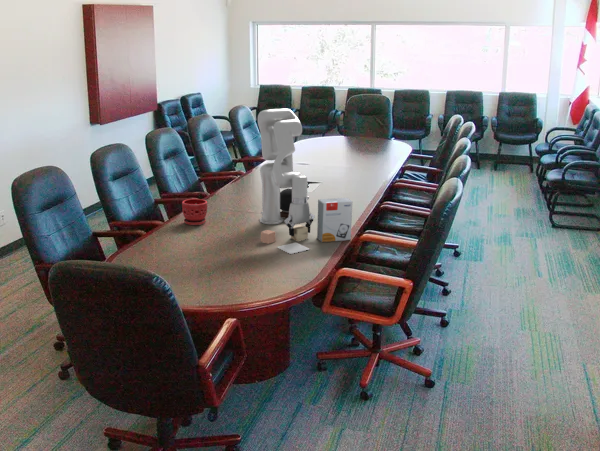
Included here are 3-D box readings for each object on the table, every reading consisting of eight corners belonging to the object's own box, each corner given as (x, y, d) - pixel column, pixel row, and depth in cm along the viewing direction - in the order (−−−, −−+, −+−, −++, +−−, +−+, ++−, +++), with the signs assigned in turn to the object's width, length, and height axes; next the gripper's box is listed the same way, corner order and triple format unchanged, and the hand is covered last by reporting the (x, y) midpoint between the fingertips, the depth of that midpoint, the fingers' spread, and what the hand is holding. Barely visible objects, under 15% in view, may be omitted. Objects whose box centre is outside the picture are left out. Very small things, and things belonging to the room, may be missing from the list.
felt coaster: (277, 247, 311) (277, 246, 311) (296, 243, 317) (296, 242, 317) (290, 254, 302) (290, 253, 302) (309, 250, 308) (309, 248, 308)
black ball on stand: (273, 213, 365) (273, 187, 361) (294, 210, 370) (295, 185, 366) (282, 220, 354) (282, 193, 349) (304, 217, 359) (305, 190, 355)
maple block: (290, 238, 325) (290, 226, 323) (300, 236, 328) (300, 224, 326) (297, 241, 320) (297, 229, 318) (307, 239, 323) (307, 227, 322)
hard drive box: (321, 242, 318) (321, 203, 312) (316, 237, 325) (317, 199, 319) (351, 240, 322) (352, 201, 316) (346, 235, 329) (347, 197, 323)
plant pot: (205, 226, 342) (205, 204, 338) (180, 226, 342) (179, 204, 338) (209, 219, 354) (208, 198, 350) (185, 219, 354) (184, 197, 351)
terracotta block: (260, 241, 320) (260, 232, 318) (267, 239, 323) (267, 229, 322) (268, 243, 317) (268, 234, 315) (275, 241, 320) (275, 231, 319)
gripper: (309, 196, 326) (309, 229, 331) (280, 201, 316) (280, 235, 321) (318, 199, 320) (318, 232, 325) (289, 204, 310) (289, 239, 315)
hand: (299, 233), depth 323 cm, fingers open, 9 cm apart
